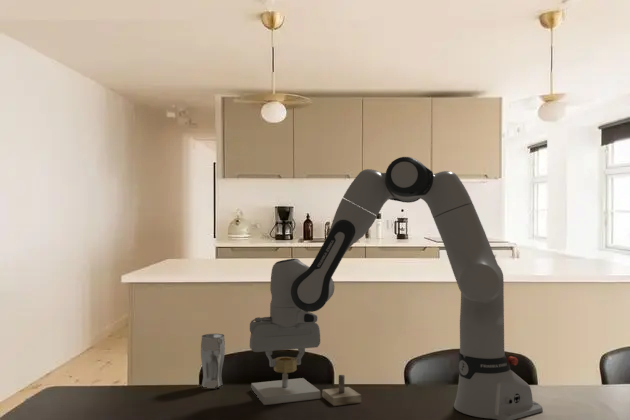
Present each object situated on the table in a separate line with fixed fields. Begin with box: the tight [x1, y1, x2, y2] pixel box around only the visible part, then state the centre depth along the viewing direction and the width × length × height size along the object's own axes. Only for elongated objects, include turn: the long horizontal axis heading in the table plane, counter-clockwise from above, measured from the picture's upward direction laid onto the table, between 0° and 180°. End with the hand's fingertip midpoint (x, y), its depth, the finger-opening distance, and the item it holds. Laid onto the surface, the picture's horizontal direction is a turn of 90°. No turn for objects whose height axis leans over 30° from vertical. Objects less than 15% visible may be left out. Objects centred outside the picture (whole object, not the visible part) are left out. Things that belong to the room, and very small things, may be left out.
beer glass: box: [200, 333, 226, 388], centre depth 153 cm, size 7×7×15 cm
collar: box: [273, 356, 298, 374], centre depth 147 cm, size 6×6×3 cm
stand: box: [321, 374, 362, 407], centre depth 142 cm, size 8×8×6 cm
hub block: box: [250, 373, 321, 406], centre depth 146 cm, size 16×14×6 cm
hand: (285, 365), depth 147 cm, fingers closed on collar, 6 cm apart
